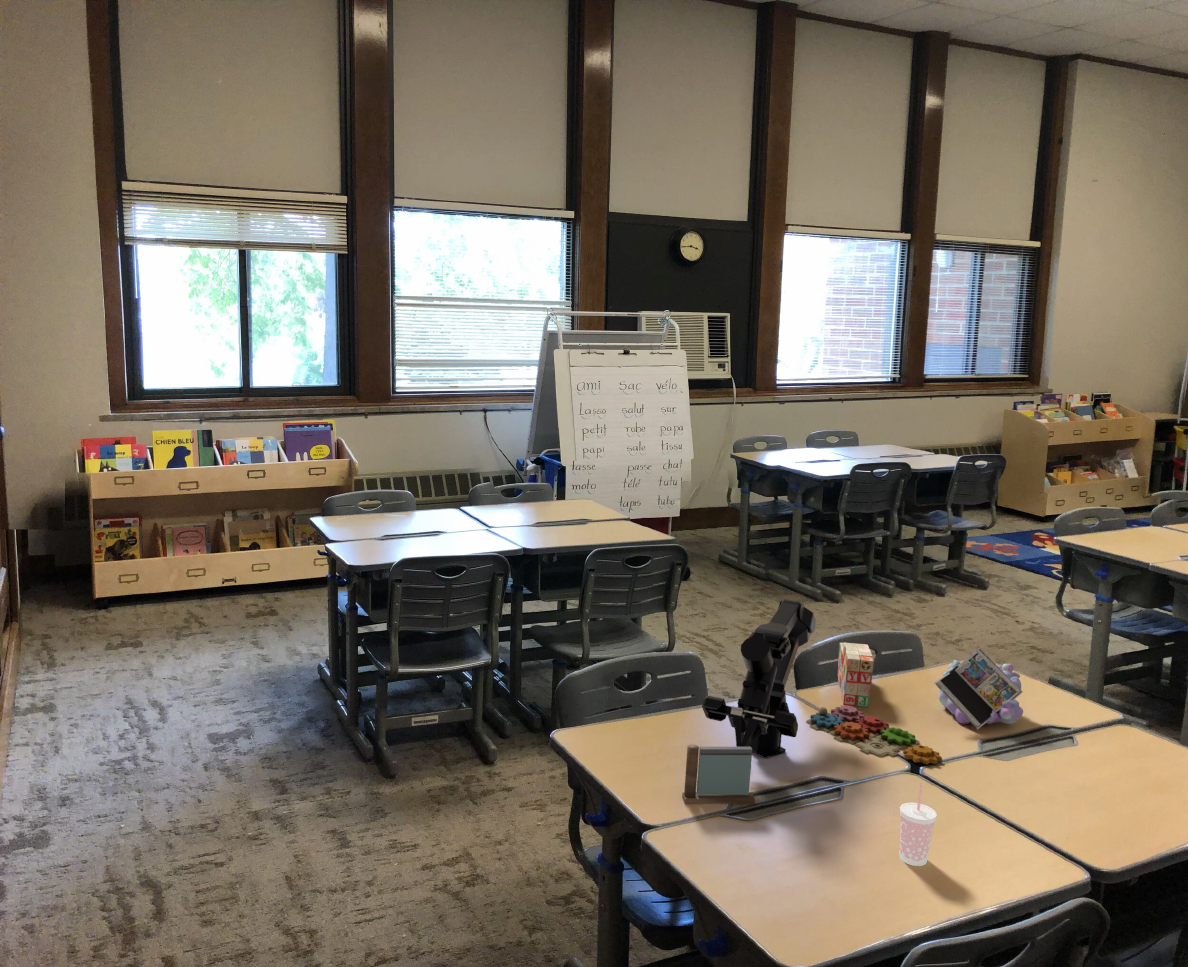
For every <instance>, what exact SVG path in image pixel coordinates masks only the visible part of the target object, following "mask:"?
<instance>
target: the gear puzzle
mask: <svg viewBox="0 0 1188 967" xmlns="http://www.w3.org/2000/svg"><path fill="white" fill-rule="evenodd" d="M809 718H810V719H806V721H805V723H806V724H808V725H809V729H812V730H814V731H819V730H820V731H822V732H824V733H827V734H829V735H830V736H833V740H835V741H837V742H839V743H843V742H846V743H848V744H850V745H853V746H855V747H856V748H858V749H859V752H861V753H863V754H865V755H869V754H871V755H874V756H875V757H878V758H884V757H887V756H889V757H891V758H894V757H897V756H899V753H898V752H900V751H902V754H904V755H905V759H908V760H912V761H913V762H914V763H922V764H924V765H929V764H936V765H938V763H939V762H942V761H943V757H942V756H941V755H940V752H939V751H935V750H934V749H933V748H932V747H929V746H927V745H923V744H920V741H919V740H917V739H916V735H915V734H912V733H910V732H909V730H903V729H901V728H899V727H894V726H893V727H890V724H889V722H884V721H883V719H881V718H879V717H878V716H873V715H872V716H871V715H870V716H868V715H867V716H865V715H864V712H863V711H860V710H858V708H856V707H855V706H850V705H843V704H842V705H840V706H836V707H835V708H833V709H831V710H830V713H829V712H828V709H827V708H826V707H825V706H821V707H819V709H818V712H816V713H815V714H810V716H809Z"/></svg>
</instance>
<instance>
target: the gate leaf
mask: <svg viewBox="0 0 1188 967" xmlns="http://www.w3.org/2000/svg"><path fill="white" fill-rule="evenodd" d="M752 758H753V751H752V748H751V747H736V746H699V754H698V769H697V783H696V792H697V794H698V795H749V792H750V783H751V774H752V773H751V772H752Z"/></svg>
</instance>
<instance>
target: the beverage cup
mask: <svg viewBox="0 0 1188 967" xmlns="http://www.w3.org/2000/svg"><path fill="white" fill-rule="evenodd" d="M922 791H923V783H919V788H918V796H917V802H906V803H905V802H904V803H903V804H901V805H900V806H899V814H900V825H899V826H900V830H899V833H900V834H899V859H900V861H902V862H904V863H905V864H908V865H911V866H914V867H921V866H922V867H923V866H924V865H926V864H927V862H928V856H929V852H930V846H931V842H932V841H931V840H932V835H933V830H934V824H935V822H936V821H937V815H938V814H937V811H936V810H934V809H933V808H932V807H930V806H928V805H926V804H923V803H922V793H923V792H922Z"/></svg>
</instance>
